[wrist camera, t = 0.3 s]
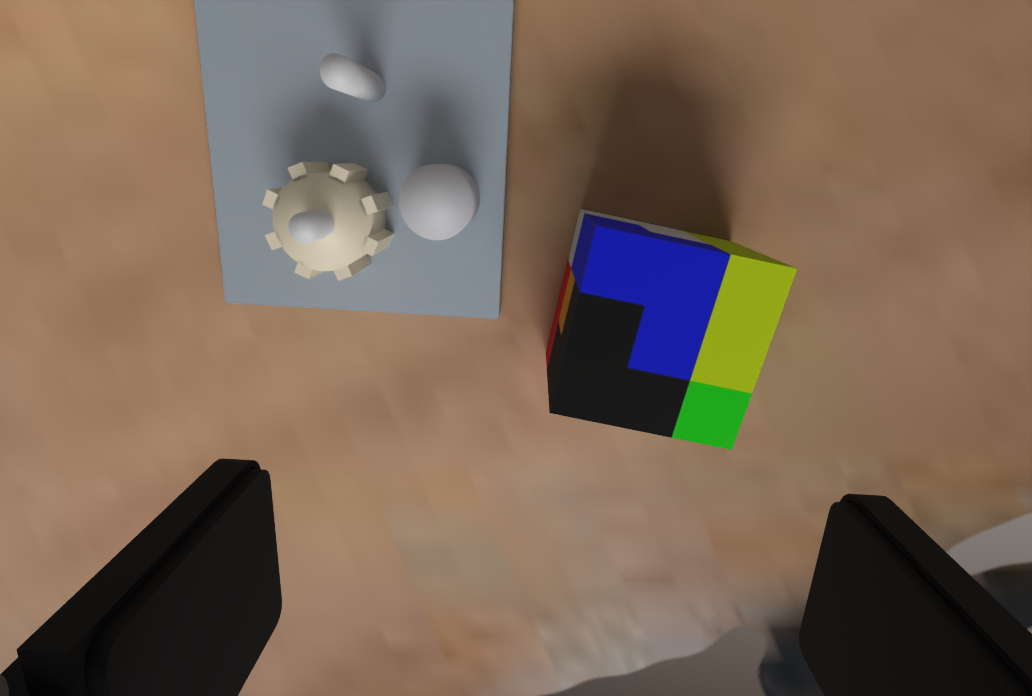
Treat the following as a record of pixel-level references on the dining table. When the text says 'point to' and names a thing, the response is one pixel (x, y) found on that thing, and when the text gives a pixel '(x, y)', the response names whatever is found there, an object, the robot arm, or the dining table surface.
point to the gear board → (359, 151)
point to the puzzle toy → (662, 329)
